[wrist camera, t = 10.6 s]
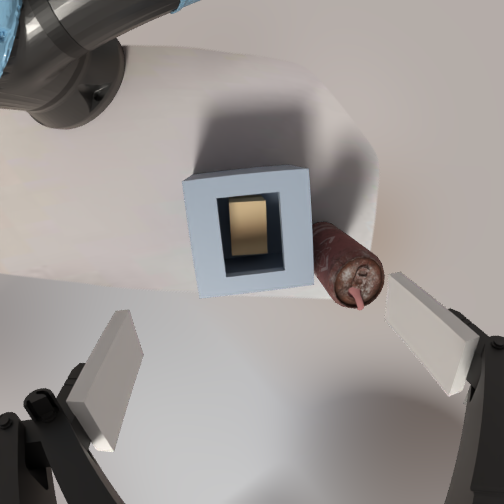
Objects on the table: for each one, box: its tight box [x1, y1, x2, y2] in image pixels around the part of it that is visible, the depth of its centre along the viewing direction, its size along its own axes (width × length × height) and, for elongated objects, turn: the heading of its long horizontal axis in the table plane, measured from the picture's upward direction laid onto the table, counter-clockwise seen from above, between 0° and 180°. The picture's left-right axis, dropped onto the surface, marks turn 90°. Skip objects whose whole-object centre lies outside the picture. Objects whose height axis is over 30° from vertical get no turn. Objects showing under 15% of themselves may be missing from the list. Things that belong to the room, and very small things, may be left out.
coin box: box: [182, 165, 314, 298], centre depth 36 cm, size 12×12×10 cm
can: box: [312, 222, 385, 310], centre depth 36 cm, size 6×6×14 cm
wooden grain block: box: [229, 195, 267, 256], centre depth 38 cm, size 6×4×5 cm, turn 3°
